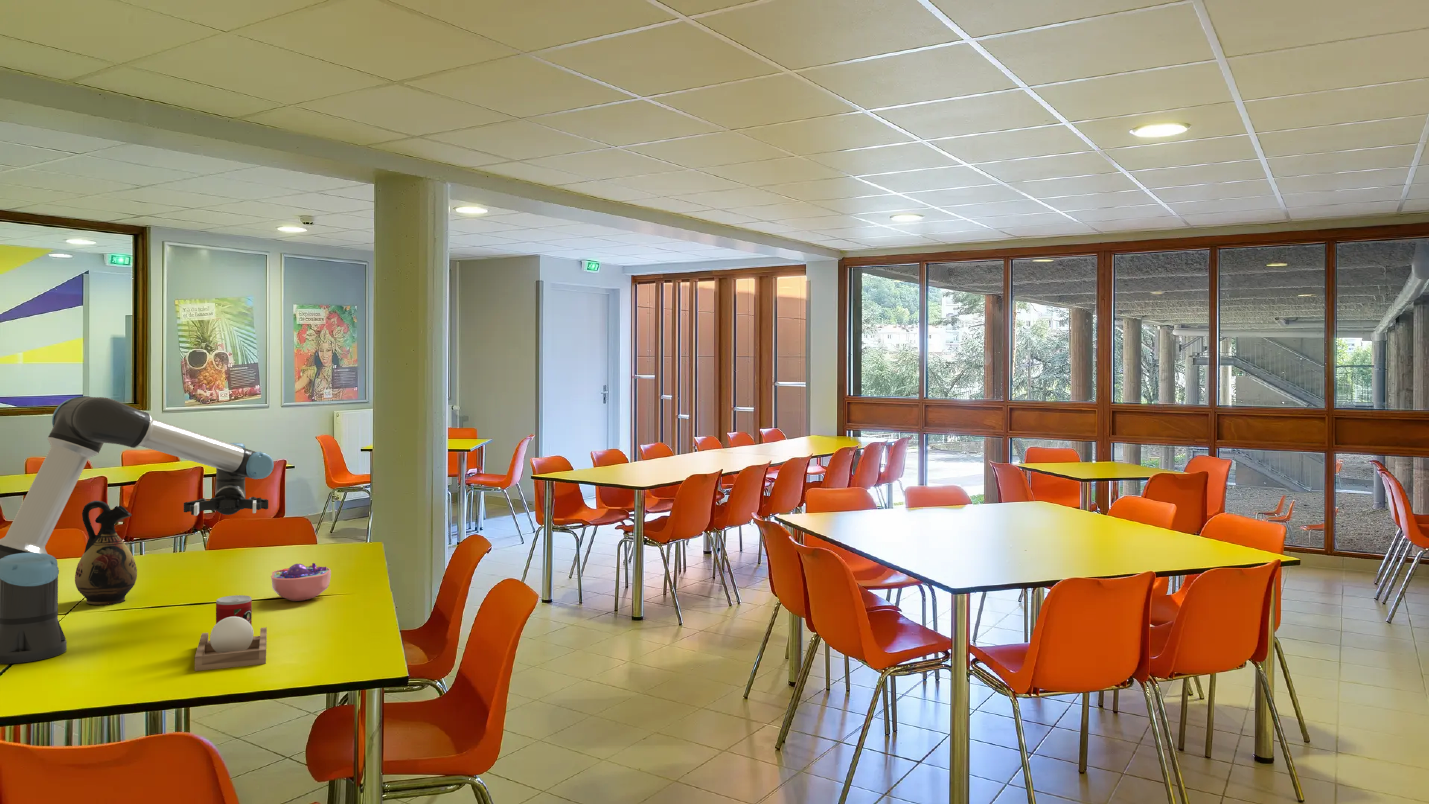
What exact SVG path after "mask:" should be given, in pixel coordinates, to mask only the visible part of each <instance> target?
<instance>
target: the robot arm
mask: <svg viewBox="0 0 1429 804" xmlns="http://www.w3.org/2000/svg"><path fill="white" fill-rule="evenodd" d="M51 424H52V429H51V431H50V433H49V435H48V437H47V440H48V443H49V445H50V448H49V450H48V452H47V454H46V456H45V458H44V460H43V461H42V464H41V466H40V468H39V469H38V472H37V473H36V476H35V477H34V479H33V482H32V483H31V485H30V488H29V489H28V492H27V494H26V495H25V497H24V499H23V501H22V503H21V505H20V507H19V509H18V511H17V513H16V515H15V517H14V519H13V521H12V523H11V525H10V526H9V529H8V530H7V532H6V534H5V536H4V537H2V538H0V665H1V664H2V665H3V664H5V665H8V664H9V665H10V664H21V663H30V662H37V661H42V660H46V659H49V658H54V657H56V656H59V655H61V654H64V653H65V652H66V651H67V642H68V641H67V639H66V637H65V634H64V631H63V628H62V626H61V624H60V622H59V621H60V620H59V612H58V610H59V605H58V603H59V573H60V570H59V566H58V559H57V558H56V557H55V556H54V555H51V554H48V552H47V549H46V545H47V544H48V541H49V539H50V537H51V535H52V534H53V532H54V529H55V527H56V525H57V524H58V521H59V519H60V518H61V515H62V513H63V512H64V509H65V507H66V505H67V503H68V501H69V499H70V497H71V494H72V493H73V491H74V489H75V487H76V485H77V484H78V480H79V479H80V476H81V475H82V473H83V470H84V469H85V467H86V465H87V462H88V460H89V459H91V458H93V457H95V456H97V455H99V454H100V451H101V449H102V447H103V445H104V444H113V445H119V446H124V447H128V448H131V449H132V448H133V449H136V448H139V447H142V448H146V449H149V450H153V451H156V452H159V453H162V454H163V453H164V454H167V455H170V456H174V457H177V458H180V459H184V460H187V461H191V462H195V463H197V464H201V465H204V466H208V467H211V468H215V469H216V470H215V471H216V478H215V480H216V481H215V495H214V497H211V498H210V499H209V500H207V499H206V498H204V497H203V498H200V499H196V500H191V501H186V502H183V513H189V512H190V514H191V515H192V516H195V517H196V516H198V515H199V514H200V512H204V511H214V512H218V513H219V514H222V515H224V516H230V515H234V514H236V513H238V512H239V511H240V510H245V509H247V510H248V509H249V510H252V514H256V513H257V511H260V510H262V509H263V510H268V509H269V499H266V498H265V499H264V498H262V497H256V496H251V497H249V498H246V492H247V491H246V478H248V479H253V480H258V479H259V480H260V479H261V480H262V479H265V478H268V477H269V476H270V475H271V473H272V472H273V470H274V465H275V463H274V460H273V458H272V456H271V455H269V454H268V453H265V452H262V451H254V450H252V449H248V448H246V445H245V444H244V442H243V443H242V442H227V441H223V440H220V439H218V438H214V437H210V436H208V435H205V434H202V433H199V432H196V431H192V430H189V429H186V428H184V427H183V428H182V427H180V426H178V425H177V426H176V425H173V424H170V423H168V422H164V421H162V420H158V419H155V418H152V416H151V414H150V413H149V412H146V411H143V410H140V409H137V408H135V407H134V406H133V407H132V406H129V405H128V404H125V403H122V402H120V401H118V400H116V399H112V398H108V397H105V396H104V397H103V396H91V395H90V396H89V395H88V396H86V395H82V396H75V397H72V398H71V397H70V398H69V399H66V400H65V401H63V402H61V403H60V404H59V405H58V406H57V407H56V408H55V409H54V411H53V414H52V418H51ZM191 515H190V516H191Z"/></svg>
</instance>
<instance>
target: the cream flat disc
mask: <svg viewBox="0 0 1429 804" xmlns="http://www.w3.org/2000/svg"><path fill="white" fill-rule="evenodd" d="M254 634H255V633H254V628H253V626H251V624H250V623H249V622H248V621H247V620H246V619H244V618H241V617H236V616H232V617H227V618H224V619H222V620H221V621H219V622H218V623H217V624H216V623H215V625H214V626H213V628H212V629H211V632H210V635H209V637H210V638H209V641H210V643H211V646H212V648H213V649H214V650H215V651H216V652H217V653H223V652H233V651H243V650H246V649H247V648H248V647H249V646H250V645H251V643H252V640H253V636H254Z"/></svg>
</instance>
